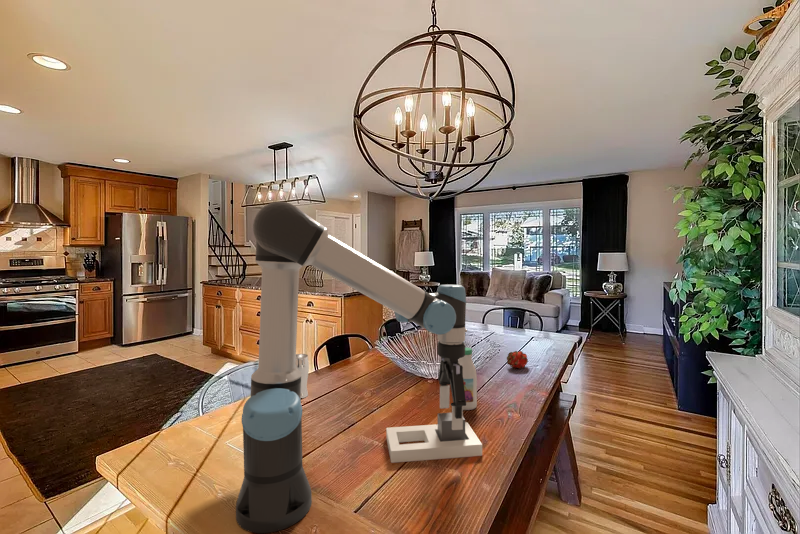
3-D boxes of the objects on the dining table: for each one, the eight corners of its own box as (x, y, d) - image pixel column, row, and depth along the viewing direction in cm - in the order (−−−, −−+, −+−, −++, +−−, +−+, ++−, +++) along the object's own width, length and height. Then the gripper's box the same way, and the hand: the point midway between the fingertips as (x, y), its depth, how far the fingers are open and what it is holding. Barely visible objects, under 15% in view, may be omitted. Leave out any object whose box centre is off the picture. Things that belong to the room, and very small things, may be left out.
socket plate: (482, 455, 101) (482, 444, 101) (391, 462, 98) (390, 451, 98) (467, 432, 114) (467, 422, 114) (386, 437, 111) (386, 427, 111)
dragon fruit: (505, 373, 172) (524, 372, 178) (518, 366, 166) (537, 365, 172) (499, 355, 177) (517, 355, 183) (511, 347, 171) (530, 347, 177)
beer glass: (311, 392, 146) (311, 353, 146) (305, 399, 139) (304, 358, 139) (294, 392, 147) (293, 353, 146) (287, 399, 140) (286, 358, 139)
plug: (465, 448, 104) (465, 419, 104) (441, 450, 104) (441, 421, 103) (460, 439, 109) (460, 412, 109) (437, 441, 109) (437, 413, 108)
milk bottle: (461, 399, 138) (461, 344, 137) (480, 405, 133) (480, 348, 132) (449, 406, 132) (449, 349, 131) (469, 412, 127) (469, 352, 126)
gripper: (479, 353, 93) (478, 439, 94) (452, 331, 118) (451, 399, 119) (449, 353, 92) (448, 440, 93) (428, 332, 117) (428, 400, 118)
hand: (450, 418), depth 106 cm, fingers open, 13 cm apart
